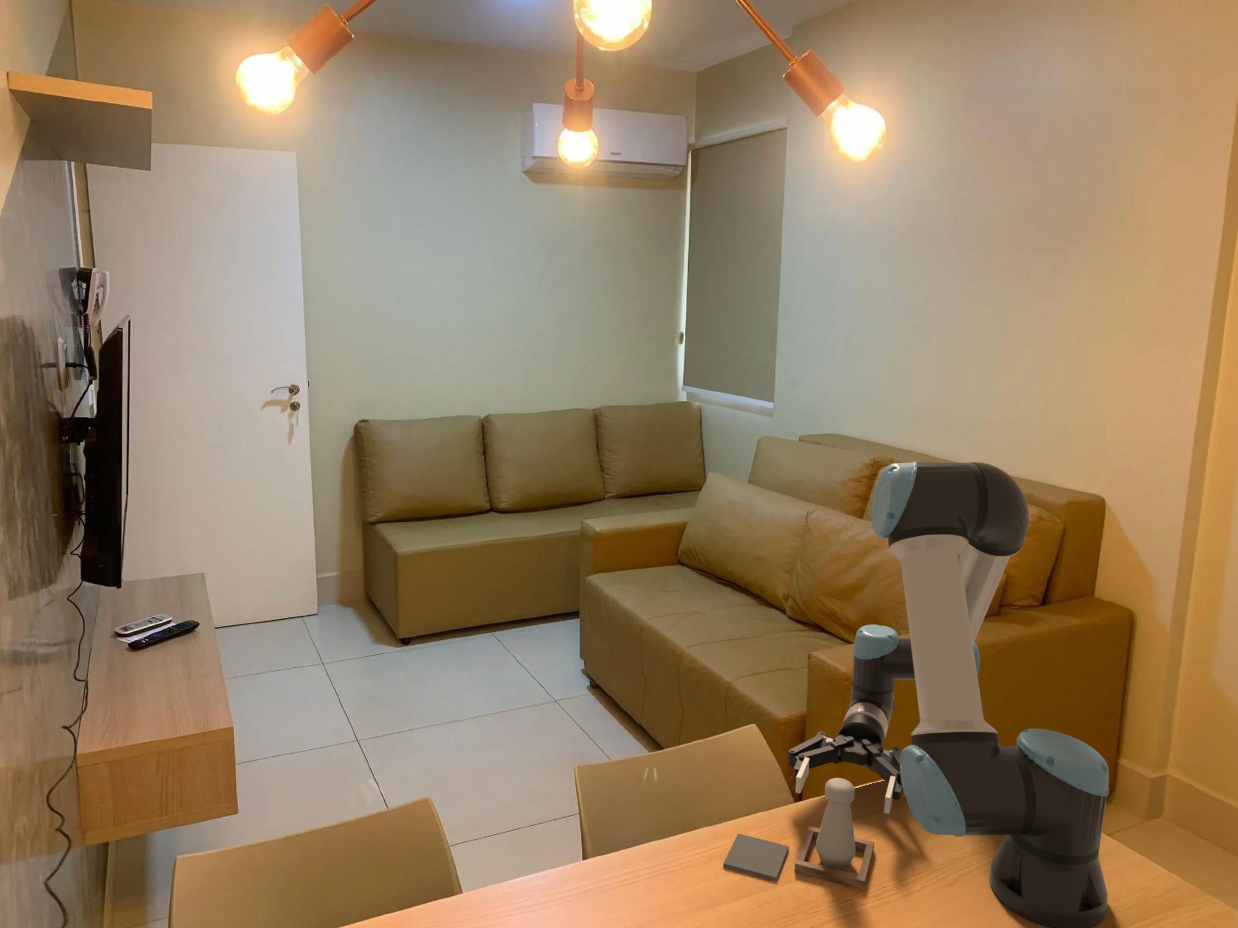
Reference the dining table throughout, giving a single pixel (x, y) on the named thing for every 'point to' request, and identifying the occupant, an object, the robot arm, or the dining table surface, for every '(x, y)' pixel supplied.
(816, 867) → the walnut collar
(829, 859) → the salt shaker
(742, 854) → the charcoal coaster
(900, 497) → the robot arm
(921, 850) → the dining table surface
